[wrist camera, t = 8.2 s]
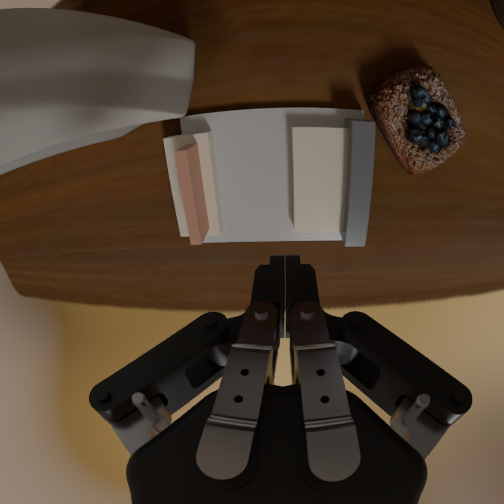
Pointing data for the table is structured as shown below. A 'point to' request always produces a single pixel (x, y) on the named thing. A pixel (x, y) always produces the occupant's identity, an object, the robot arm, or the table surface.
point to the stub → (194, 185)
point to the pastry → (417, 118)
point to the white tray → (291, 173)
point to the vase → (84, 80)
